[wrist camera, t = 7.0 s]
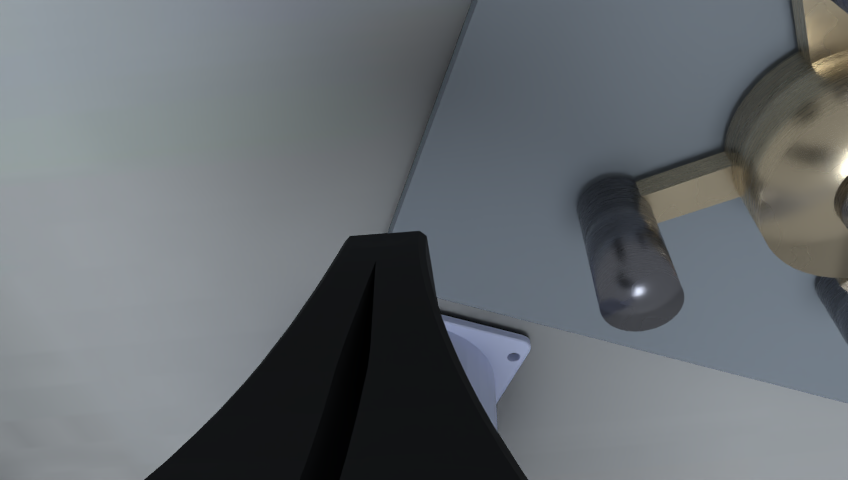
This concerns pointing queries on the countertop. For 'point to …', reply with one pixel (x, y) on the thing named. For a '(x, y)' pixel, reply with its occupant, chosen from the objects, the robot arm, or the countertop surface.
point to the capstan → (742, 185)
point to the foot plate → (612, 157)
